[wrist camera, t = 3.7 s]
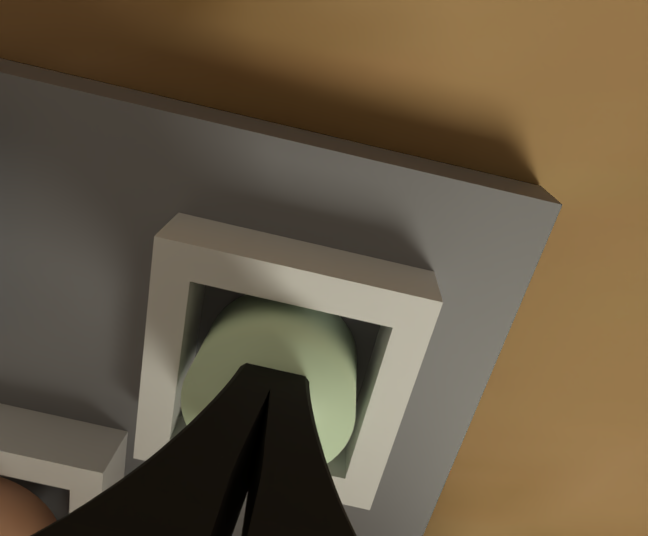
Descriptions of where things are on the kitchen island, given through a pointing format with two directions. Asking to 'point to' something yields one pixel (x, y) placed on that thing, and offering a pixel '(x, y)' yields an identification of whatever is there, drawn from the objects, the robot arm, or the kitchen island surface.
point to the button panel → (239, 283)
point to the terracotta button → (21, 510)
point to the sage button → (281, 361)
